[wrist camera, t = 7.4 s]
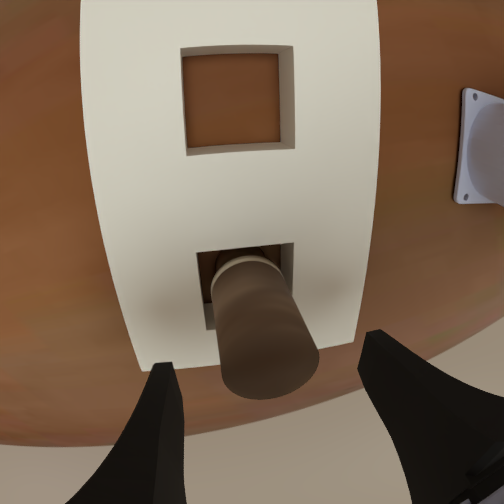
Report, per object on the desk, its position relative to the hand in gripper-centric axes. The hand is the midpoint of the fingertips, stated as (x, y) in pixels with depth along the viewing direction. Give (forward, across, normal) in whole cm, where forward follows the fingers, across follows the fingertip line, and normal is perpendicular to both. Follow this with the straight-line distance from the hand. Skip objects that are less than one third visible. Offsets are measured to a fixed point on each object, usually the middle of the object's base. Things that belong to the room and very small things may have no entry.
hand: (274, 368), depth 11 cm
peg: (+8, 0, 0) cm, 8 cm away
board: (+8, 0, -5) cm, 9 cm away
